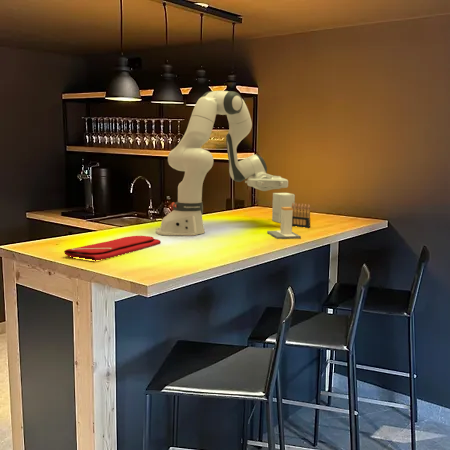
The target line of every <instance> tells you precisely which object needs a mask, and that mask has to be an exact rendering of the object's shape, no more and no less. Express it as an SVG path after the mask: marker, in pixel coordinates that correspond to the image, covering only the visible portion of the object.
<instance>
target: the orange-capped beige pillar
mask: <svg viewBox="0 0 450 450" xmlns="http://www.w3.org/2000/svg"><path fill="white" fill-rule="evenodd" d="M292 212H293V208H291V207H281V223H280V231H281V233H282V234H292V232H293V231H292V230H293V226H292Z"/></svg>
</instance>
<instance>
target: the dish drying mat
mask: <svg viewBox="0 0 450 450" xmlns="http://www.w3.org/2000/svg"><path fill="white" fill-rule="evenodd" d="M160 244H161V240H160V239H156V238H154V237H153V236H150V235H131V236H130V235H129V236H125V237H124V236H123V237H120V238H115V239H112V240H108V241H103V242H97V243H93V244H88V245H83V246H78V247H74V248H68V249H66V250H64V254H65V256H67V257H68V256H71V257H79V258H85V259H92V260H95V261H96V260H101V259H105V260H107V259H106V258H109V259H111V258H110V257H113V258H115V257H114V256H116V257H119V256H118V255H120V256H122V254H123V255H125V253H127V254H130V253H133V251H134V252H138V251H140V250H144V249H147V248H150V247H154V246H156V245H160ZM129 252H130V253H129Z"/></svg>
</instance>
